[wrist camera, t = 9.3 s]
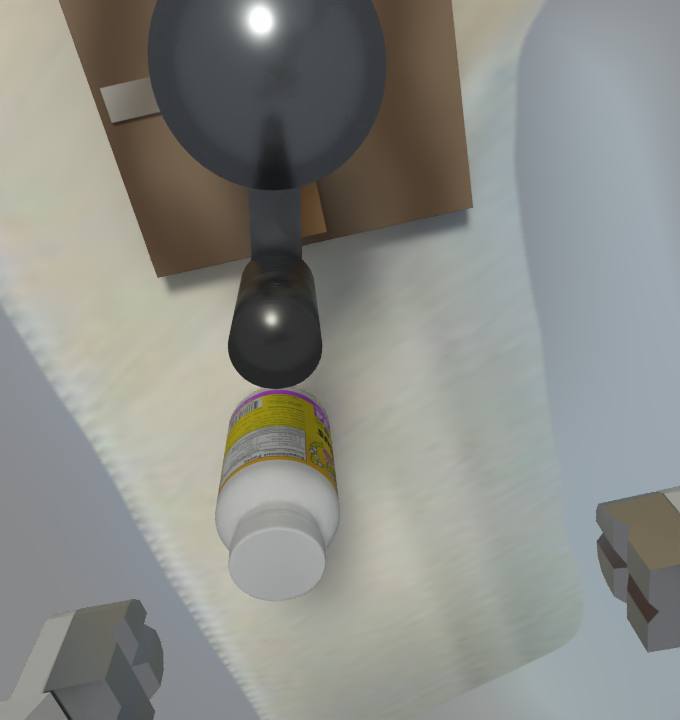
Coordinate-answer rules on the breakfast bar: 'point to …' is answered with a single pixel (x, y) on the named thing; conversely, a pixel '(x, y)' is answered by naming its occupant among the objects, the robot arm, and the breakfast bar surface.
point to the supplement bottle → (277, 494)
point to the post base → (318, 200)
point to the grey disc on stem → (270, 140)
